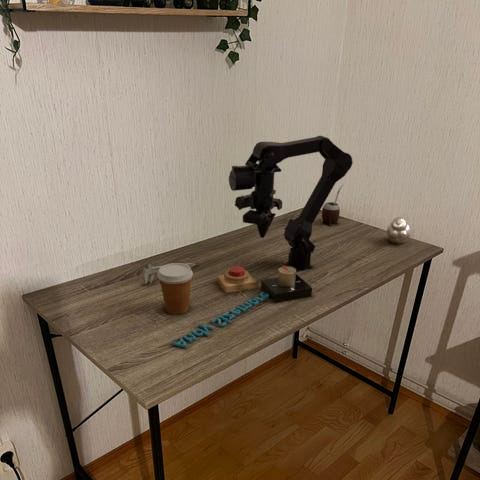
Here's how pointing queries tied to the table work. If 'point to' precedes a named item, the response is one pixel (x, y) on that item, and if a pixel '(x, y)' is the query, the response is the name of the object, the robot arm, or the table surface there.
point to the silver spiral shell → (399, 230)
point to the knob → (286, 276)
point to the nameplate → (205, 327)
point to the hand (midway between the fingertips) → (262, 237)
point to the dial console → (286, 290)
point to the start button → (236, 271)
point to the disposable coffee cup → (175, 286)
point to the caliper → (155, 272)
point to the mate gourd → (331, 211)
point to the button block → (236, 282)
